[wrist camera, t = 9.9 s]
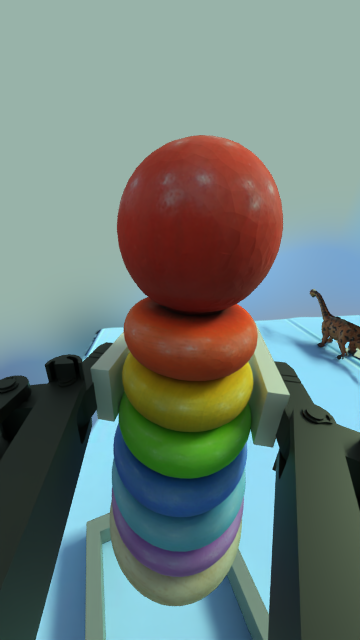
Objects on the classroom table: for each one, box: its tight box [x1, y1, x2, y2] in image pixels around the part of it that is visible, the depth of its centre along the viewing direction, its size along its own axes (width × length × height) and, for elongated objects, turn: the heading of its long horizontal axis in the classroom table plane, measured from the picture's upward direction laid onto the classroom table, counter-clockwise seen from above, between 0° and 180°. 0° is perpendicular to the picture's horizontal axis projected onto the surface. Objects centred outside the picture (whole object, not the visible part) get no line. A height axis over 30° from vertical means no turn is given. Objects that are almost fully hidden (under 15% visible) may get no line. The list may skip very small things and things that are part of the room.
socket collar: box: [85, 513, 269, 640], centre depth 18 cm, size 13×13×2 cm
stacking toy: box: [110, 135, 283, 606], centre depth 10 cm, size 8×8×19 cm
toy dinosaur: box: [310, 289, 360, 359], centre depth 59 cm, size 8×30×15 cm, turn 9°
